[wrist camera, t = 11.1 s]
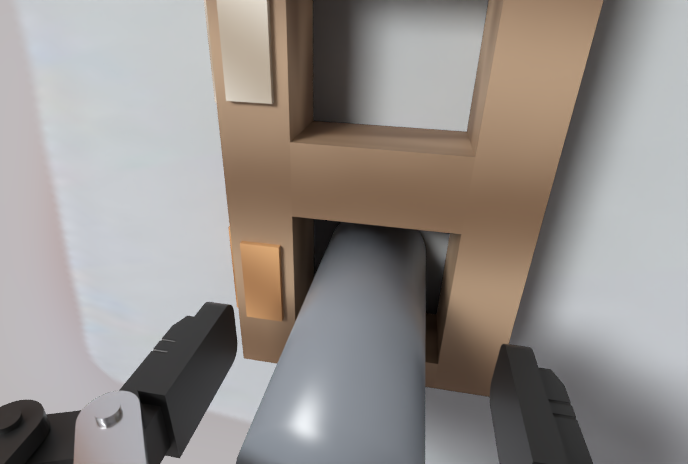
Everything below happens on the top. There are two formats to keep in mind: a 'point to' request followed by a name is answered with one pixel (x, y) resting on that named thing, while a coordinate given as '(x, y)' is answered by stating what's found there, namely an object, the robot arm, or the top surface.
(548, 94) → the socket block
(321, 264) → the plug
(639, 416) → the top surface
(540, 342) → the top surface
